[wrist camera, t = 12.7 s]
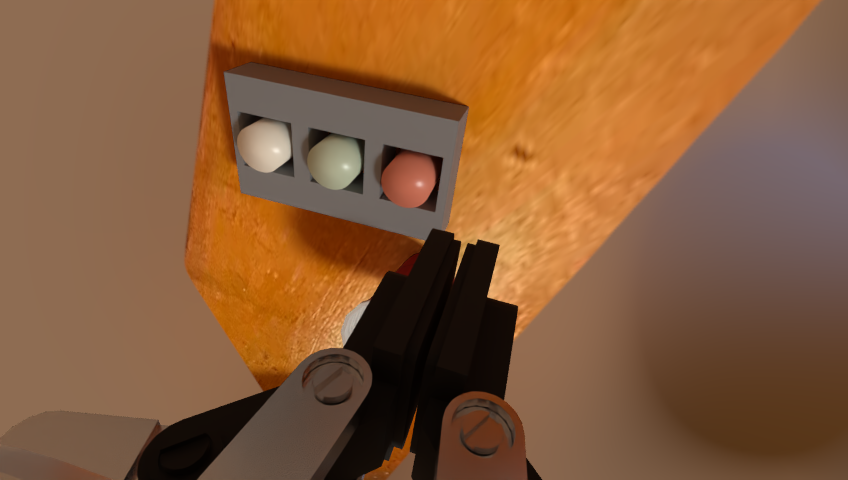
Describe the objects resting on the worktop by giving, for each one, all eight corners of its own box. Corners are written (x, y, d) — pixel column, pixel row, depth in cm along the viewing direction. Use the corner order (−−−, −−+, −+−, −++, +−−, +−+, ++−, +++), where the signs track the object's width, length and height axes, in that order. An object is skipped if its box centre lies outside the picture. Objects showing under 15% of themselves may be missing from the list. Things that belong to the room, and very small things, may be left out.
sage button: (330, 120, 42) (306, 138, 38) (374, 130, 41) (353, 149, 37) (331, 163, 44) (308, 183, 40) (372, 172, 44) (352, 194, 40)
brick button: (400, 136, 41) (382, 156, 37) (446, 146, 40) (433, 167, 36) (397, 178, 43) (379, 201, 39) (440, 188, 43) (427, 213, 39)
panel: (250, 62, 41) (223, 71, 38) (468, 106, 38) (459, 121, 35) (263, 176, 48) (241, 192, 45) (448, 222, 45) (438, 244, 42)
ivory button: (264, 106, 43) (234, 121, 39) (305, 115, 42) (278, 132, 38) (268, 148, 45) (240, 166, 42) (307, 157, 45) (282, 177, 41)
